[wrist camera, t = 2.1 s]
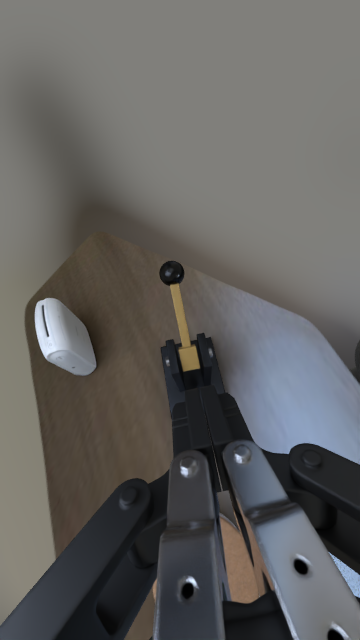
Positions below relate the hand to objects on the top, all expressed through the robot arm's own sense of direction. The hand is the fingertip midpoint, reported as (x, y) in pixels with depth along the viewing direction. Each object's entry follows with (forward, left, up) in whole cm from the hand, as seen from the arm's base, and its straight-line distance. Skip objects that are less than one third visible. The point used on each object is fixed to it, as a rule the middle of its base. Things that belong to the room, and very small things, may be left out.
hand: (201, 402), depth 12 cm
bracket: (0, -8, -29) cm, 30 cm away
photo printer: (+19, -17, -29) cm, 39 cm away
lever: (0, -14, -17) cm, 22 cm away
